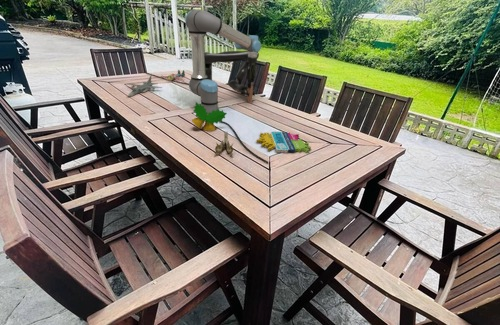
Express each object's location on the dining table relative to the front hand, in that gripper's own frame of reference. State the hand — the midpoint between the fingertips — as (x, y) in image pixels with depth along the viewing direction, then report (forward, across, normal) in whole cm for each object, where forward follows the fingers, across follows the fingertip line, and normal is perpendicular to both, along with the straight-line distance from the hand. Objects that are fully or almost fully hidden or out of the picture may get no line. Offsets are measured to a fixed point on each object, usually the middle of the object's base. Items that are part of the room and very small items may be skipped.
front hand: (250, 87), depth 216 cm
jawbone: (+12, -93, -24) cm, 97 cm away
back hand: (+6, -2, -2) cm, 6 cm away
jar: (+12, 0, 0) cm, 12 cm away
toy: (+12, +34, +100) cm, 107 cm away
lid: (-4, 0, 0) cm, 4 cm away
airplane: (+12, -25, +91) cm, 95 cm away
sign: (+12, -67, -48) cm, 84 cm away
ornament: (+12, -70, -1) cm, 71 cm away
